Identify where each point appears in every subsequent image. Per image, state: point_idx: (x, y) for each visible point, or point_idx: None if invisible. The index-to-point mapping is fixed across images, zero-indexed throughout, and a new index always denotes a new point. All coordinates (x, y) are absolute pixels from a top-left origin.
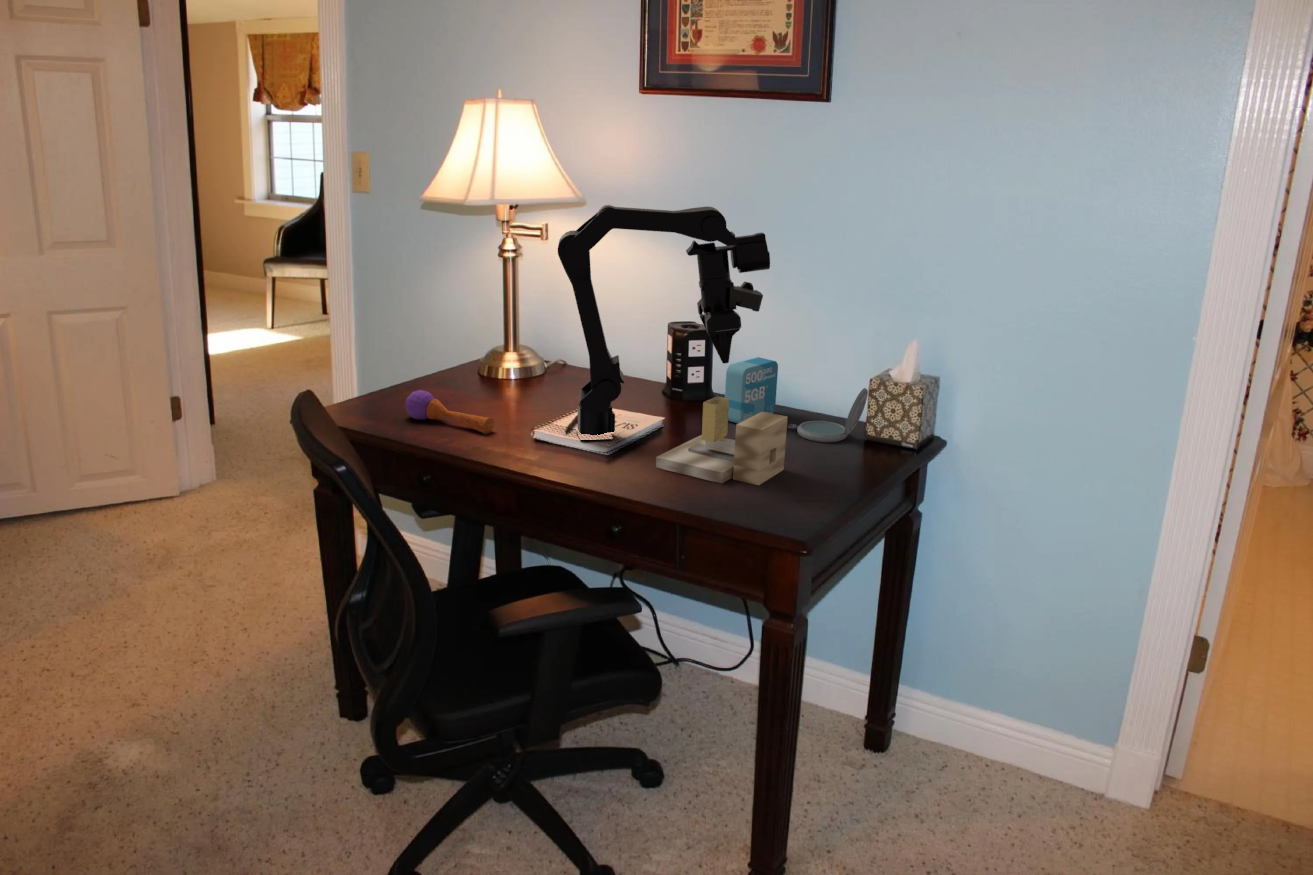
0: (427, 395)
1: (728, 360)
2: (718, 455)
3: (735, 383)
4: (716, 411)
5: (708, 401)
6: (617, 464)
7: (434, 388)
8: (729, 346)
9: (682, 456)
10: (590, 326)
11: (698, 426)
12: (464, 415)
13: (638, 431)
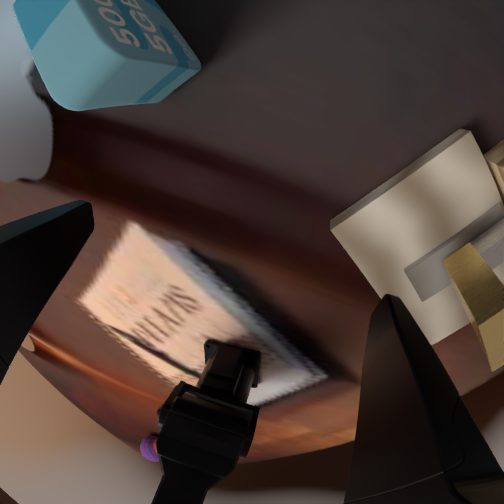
0: (154, 457)
1: (405, 308)
2: None
3: (125, 80)
4: None
5: (496, 360)
6: None
7: (74, 395)
8: (455, 404)
9: (438, 317)
10: None
11: (192, 171)
12: None
13: (212, 299)
